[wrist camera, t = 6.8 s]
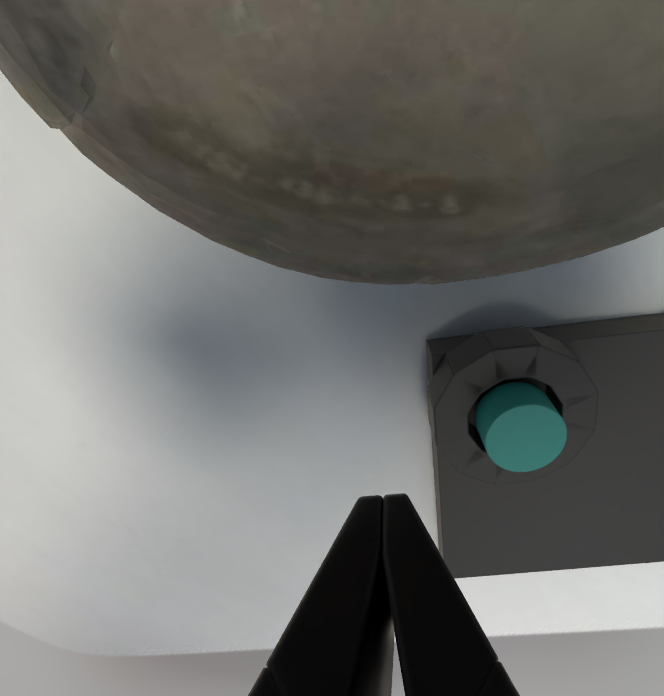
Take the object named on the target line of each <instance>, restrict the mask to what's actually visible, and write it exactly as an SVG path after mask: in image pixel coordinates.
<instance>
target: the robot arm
mask: <svg viewBox="0 0 664 696" xmlns="http://www.w3.org/2000/svg"><path fill="white" fill-rule="evenodd" d="M394 631H395V637H396V643H397V649H398V655H399V661H400V667H401V673H402V678H403V685H404V691H405V696H520V695H519V693H518V692H517V690H516V688H515V687H514V685H513V683H512V682H511V680H510V678H509V676H508V674H507V672H506V671H505V669H504V667H503V665H502V663H501V662H498V657H497V655H496V653H495V651H494V650H493V648H492V646H491V644H490V642H489V641H488V639H487V637H486V635H485V633H484V632H483V630H482V628H481V626H480V624H479V623H478V621H477V619H476V617H475V615H474V614H473V612H472V610H471V608H470V606H469V605H468V603H467V601H466V599H465V597H464V596H463V594H462V592H461V590H460V589H459V587H458V585H457V583H456V581H455V580H454V578H453V576H452V574H451V572H450V571H449V569H448V567H447V565H446V563H445V562H444V560H443V558H442V556H441V554H440V553H439V551H438V549H437V547H436V545H435V544H434V542H433V540H432V538H431V536H430V535H429V533H428V531H427V529H426V527H425V526H424V524H423V522H422V520H421V519H420V517H419V515H418V513H417V511H416V510H415V508H414V506H413V504H412V502H411V501H410V499H409V497H408V496H407V495H406V494H389V495H385V496H384V498H382V497H381V496H380V495H376V496H362V497H360V498H359V499H358V500H357V502H356V503H355V505H354V507H353V509H352V511H351V512H350V514H349V516H348V518H347V520H346V521H345V523H344V525H343V527H342V529H341V530H340V532H339V534H338V536H337V538H336V539H335V541H334V543H333V545H332V546H331V548H330V550H329V552H328V554H327V555H326V557H325V559H324V561H323V563H322V564H321V566H320V568H319V570H318V572H317V573H316V575H315V577H314V579H313V581H312V582H311V584H310V586H309V588H308V590H307V591H306V593H305V595H304V597H303V599H302V600H301V602H300V604H299V606H298V608H297V609H296V611H295V613H294V615H293V617H292V618H291V620H290V622H289V624H288V625H287V627H286V629H285V631H284V633H283V634H282V636H281V638H280V640H279V642H278V643H277V645H276V647H275V649H274V651H273V652H272V654H271V656H270V658H269V660H268V661H267V668H263V670H262V672H261V674H260V675H259V677H258V679H257V681H256V683H255V684H254V686H253V688H252V690H251V692H250V693H249V695H248V696H391V687H392V669H393V652H394Z"/></svg>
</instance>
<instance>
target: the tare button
mask: <svg viewBox="0 0 664 696" xmlns="http://www.w3.org/2000/svg"><path fill="white" fill-rule="evenodd" d="M475 424H476V427H477V430H478V432H479V435H480V437H481V439H482V442H483V444H484V447H485V449H486V451H487V454H488V456H489V457H490V459H491V460H492V461H493V462H494V463H495V464H496V465H498V466H500V467H501V468H503V469H506V470H509V471H514V472H528V471H533V470H537V469H539V468H542V467H544V466H546V465H547V464H549V463H550V462H552V461H553V460H554V459H555V458H556V457H557V456H558V455H559V454H560V453H561V451H562V450H563V448H564V446H565V443H566V439H567V428H566V424H565V422H564V420H563V418H562V417H561V415H560V414H559V413H558V411H557V410H556V408H555V407H554V405H553V404H552V403H551V401H550V400H549V398H548V397H547V395H546V394H545V393H544V392H543V391H542V390H541V389H540V388H538V387H537V386H534V385H532V384H529V383H525V382H510V383H505V384H502V385H499V386H497V387H495V388H493V389H492V390H491V391H489V392H488V393H487V394H486V395H485V396H484V397H483V398H482V399H481V401H480V402H479V404H478V406H477V409H476V412H475Z"/></svg>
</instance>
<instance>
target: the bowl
mask: <svg viewBox="0 0 664 696" xmlns="http://www.w3.org/2000/svg"><path fill="white" fill-rule="evenodd" d="M0 70H1V71H2V73H3V74H4V75H5V76H6V78H7V79H8V80H9V82H10V83H11V84H12V85H13V87H14V88H15V89H16V90H17V92H18V93H19V94H20V96H21V97H22V98H23V99H24V100H25V101H26V102H27V103H28V104H29V105H30V106H31V107H32V109H33V110H34V111H35V112H36V113H37V114H38V115H39V116H40V117H41V118H42V119H43V120H44V121H45V122H46V124H47V125H48V126H49V127H50V128H56V129H60V130H61V131H62V132H63V133H64V134H65V135H66V137H67V138H68V139H69V140H70V141H71V142H72V143H73V144H74V145H75V146H76V147H77V149H78V150H79V151H80V152H81V153H82V154H83V155H85V156H86V157H87V158H88V159H90V160H91V161H92V162H93V163H94V164H96V165H97V166H98V167H99V168H101V169H102V170H103V171H104V172H106V173H107V174H108V175H109V176H111V177H112V178H114V179H115V180H116V181H118V182H119V183H121V184H122V185H123V186H125V187H126V188H128V189H129V190H131V191H132V192H133V193H135V194H136V195H138V196H139V197H140V198H142V199H143V200H145V201H146V202H147V203H149V204H150V205H151V206H153V207H154V208H156V209H157V210H158V211H160V212H162V213H164V214H166V215H167V216H169V217H171V218H173V219H175V220H176V221H178V222H180V223H182V224H184V225H185V226H187V227H189V228H191V229H193V230H194V231H196V232H198V233H200V234H201V235H203V236H205V237H207V238H209V239H210V240H212V241H215V242H217V243H219V244H222V245H224V246H227V247H229V248H231V249H234V250H236V251H238V252H241V253H243V254H245V255H248V256H251V257H253V258H256V259H259V260H261V261H264V262H267V263H270V264H272V265H275V266H278V267H281V268H285V269H289V270H293V271H297V272H301V273H305V274H309V275H314V276H317V277H322V278H329V279H336V280H344V281H351V282H363V283H376V284H413V283H424V284H439V283H447V282H455V281H463V280H470V279H477V278H484V277H491V276H498V275H503V274H509V273H514V272H520V271H525V270H531V269H535V268H539V267H544V266H548V265H551V264H555V263H559V262H563V261H567V260H571V259H575V258H579V257H582V256H586V255H589V254H592V253H595V252H598V251H601V250H604V249H607V248H610V247H613V246H616V245H619V244H622V243H625V242H628V241H631V240H634V239H637V238H639V237H641V236H644V235H646V234H648V233H651V232H653V231H655V230H657V229H660V228H662V227H664V0H0Z"/></svg>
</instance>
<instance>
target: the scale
mask: <svg viewBox="0 0 664 696" xmlns="http://www.w3.org/2000/svg"><path fill="white" fill-rule="evenodd" d="M426 348H427V364H428V380H429V385H428V387H427V388H428V389H427V399H428V414H429V423H430V426H431V430H432V443H433V459H434V475H435V491H436V507H437V523H438V539H439V553H440V554H441V556H442V558H443V560H444V562H445V563H446V565H447V567H448V569H449V571H450V572H451V574H452V576H453V578H465V577H478V576H490V575H502V574H514V573H527V572H539V571H551V570H564V569H576V568H588V567H601V566H613V565H625V564H638V563H650V562H662V561H664V314H655V315H646V316H637V317H628V318H619V319H610V320H601V321H592V322H583V323H574V324H565V325H556V326H547V327H538V328H528V327H515V328H506V329H497V330H488V331H483V332H479V333H478V334H475V335H466V336H457V337H448V338H439V339H430V340H426ZM510 382H525V383H529V384H532V385H534V386H537V387H538V388H540V389H541V390H542V391H543V392H544V393H545V394H546V395H547V397H548V398H549V400H550V401H551V403H552V404H553V405H554V407H555V408H556V410H557V411H558V413H559V414H560V415H561V417H562V418H563V420H564V422H565V424H566V428H567V439H566V443H565V446H564V448H563V450H562V451H561V453H560V454H559V455H558V456H557V457H556V458H555V459H554V460H553V461H552V462H550V463H549V464H547V465H546V466H544V467H542V468H539V469H537V470H533V471H528V472H514V471H509V470H506V469H503V468H501V467H500V466H498V465H496V464H495V463H494V462H493V461H492V460H491V459H490V457H489V456H488V454H487V451H486V449H485V447H484V444H483V442H482V439H481V437H480V435H479V432H478V430H477V427H476V424H475V412H476V409H477V406H478V404H479V402H480V401H481V399H482V398H483V397H484V396H485V395H486V394H487V393H488V392H489V391H491V390H492V389H493V388H495V387H497V386H499V385H502V384H505V383H510Z"/></svg>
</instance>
